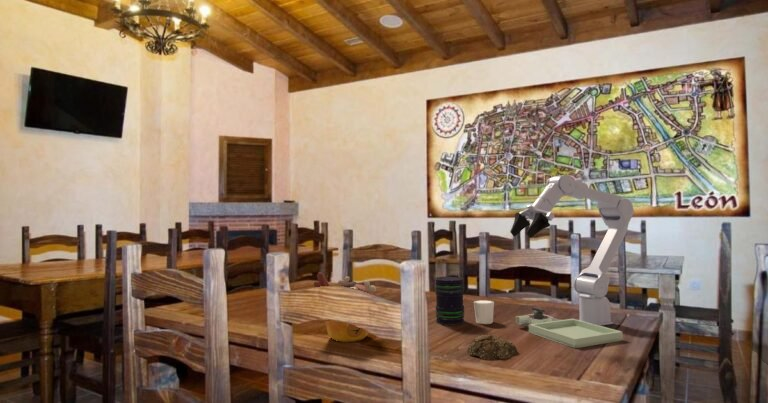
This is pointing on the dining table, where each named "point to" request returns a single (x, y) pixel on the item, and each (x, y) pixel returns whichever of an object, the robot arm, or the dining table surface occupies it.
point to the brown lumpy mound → (491, 348)
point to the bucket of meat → (340, 329)
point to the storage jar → (449, 300)
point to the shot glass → (484, 311)
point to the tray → (575, 333)
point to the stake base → (539, 314)
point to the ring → (532, 319)
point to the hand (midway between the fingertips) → (520, 234)
